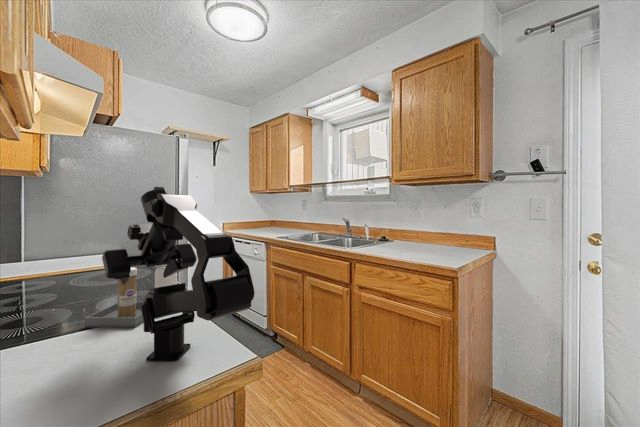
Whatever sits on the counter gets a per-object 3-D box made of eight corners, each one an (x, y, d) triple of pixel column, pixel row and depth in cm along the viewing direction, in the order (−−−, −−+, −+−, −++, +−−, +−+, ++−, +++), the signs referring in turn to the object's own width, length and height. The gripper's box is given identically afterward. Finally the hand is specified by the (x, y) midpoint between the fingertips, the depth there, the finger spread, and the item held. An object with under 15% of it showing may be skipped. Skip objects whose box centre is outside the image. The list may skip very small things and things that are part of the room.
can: (155, 300, 95) (155, 265, 95) (177, 298, 98) (177, 263, 98) (153, 306, 89) (153, 268, 89) (176, 304, 92) (176, 267, 92)
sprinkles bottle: (124, 320, 77) (124, 270, 77) (113, 317, 79) (113, 269, 79) (140, 314, 81) (140, 267, 81) (129, 311, 83) (130, 266, 83)
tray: (135, 327, 74) (135, 318, 74) (84, 327, 74) (84, 317, 74) (162, 309, 87) (162, 301, 87) (119, 309, 87) (119, 301, 87)
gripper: (191, 212, 74) (173, 250, 82) (104, 213, 60) (91, 258, 67) (206, 245, 69) (186, 282, 77) (115, 254, 55) (100, 298, 62)
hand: (144, 279), depth 71 cm, fingers open, 9 cm apart
